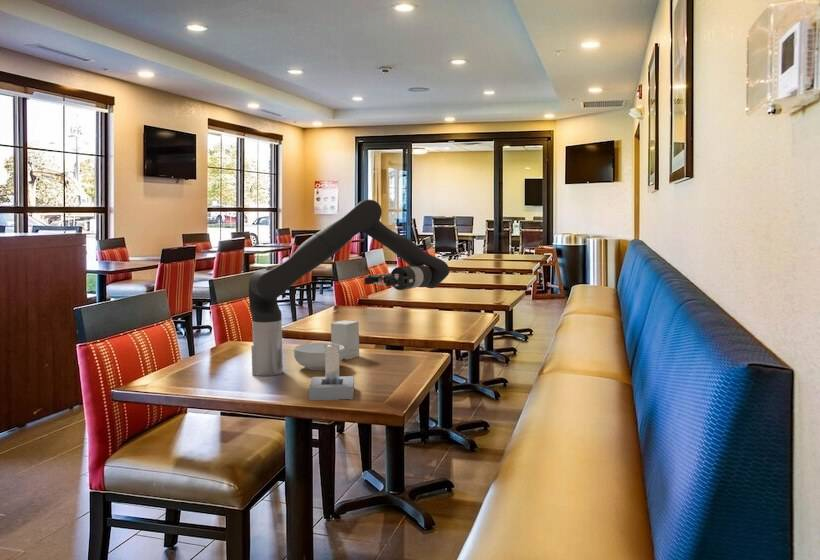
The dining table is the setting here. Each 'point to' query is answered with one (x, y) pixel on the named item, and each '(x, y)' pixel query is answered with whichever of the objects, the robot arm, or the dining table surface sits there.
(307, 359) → the cereal bowl
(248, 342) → the dining table surface
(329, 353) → the pin gauge
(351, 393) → the block
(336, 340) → the supplement box
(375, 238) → the robot arm
